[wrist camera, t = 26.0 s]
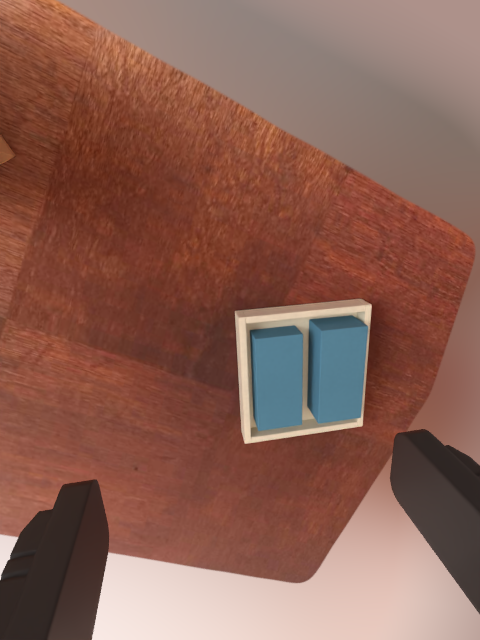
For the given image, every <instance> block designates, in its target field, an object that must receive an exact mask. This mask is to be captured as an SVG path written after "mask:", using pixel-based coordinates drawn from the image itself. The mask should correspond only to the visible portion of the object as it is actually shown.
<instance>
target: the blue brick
mask: <svg viewBox="0 0 480 640" xmlns="http://www.w3.org/2000/svg"><path fill="white" fill-rule="evenodd" d="M250 345H251V369H252V394H253V417H254V420H255V423H256V426H257V429H258V431H263V430H270V429H277V428H284V427H291V426H298V425H302V389H303V333H302V332H301V331H300V330H299V329H298V328H297V327H296V326H295V325H293V326H283V327H274V328H264V329H255V330H250Z"/></svg>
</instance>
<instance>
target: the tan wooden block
mask: <svg viewBox="0 0 480 640" xmlns="http://www.w3.org/2000/svg"><path fill="white" fill-rule="evenodd" d="M13 157H15V154H14V153H13V151H12V150H11V148H10V147H9V145H8V144H7V143H6V141H5V140H4V138H3V137H2V135H1V134H0V165H1V164H3V163H4V162H6V161H8V160H10V159H11V158H13Z"/></svg>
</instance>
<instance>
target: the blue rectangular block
mask: <svg viewBox="0 0 480 640" xmlns="http://www.w3.org/2000/svg"><path fill="white" fill-rule="evenodd" d="M367 336H368V326H367V325H366V324H364V323H363V322H361V321H360V320H358V319H357V318H356V317H354V316H353V315H349V316H339V317H329V318H318V319H309V348H308V391H307V407H308V408H309V410H310V411H311V413H312V415H313V416H314V418H315V419H316V421H317V423H318V424H321V423H328V422H335V421H342V420H349V419H356V418H361V410H362V398H363V385H364V373H365V360H366V348H367Z"/></svg>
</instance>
